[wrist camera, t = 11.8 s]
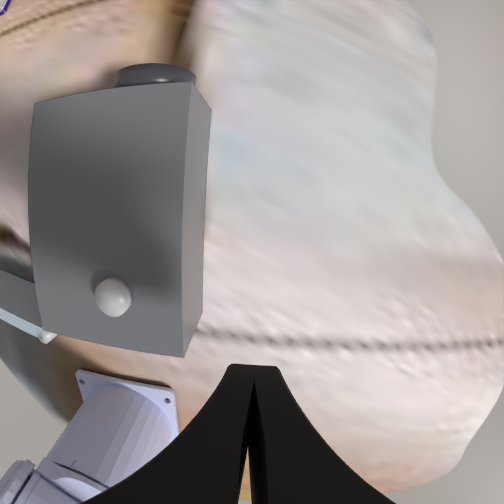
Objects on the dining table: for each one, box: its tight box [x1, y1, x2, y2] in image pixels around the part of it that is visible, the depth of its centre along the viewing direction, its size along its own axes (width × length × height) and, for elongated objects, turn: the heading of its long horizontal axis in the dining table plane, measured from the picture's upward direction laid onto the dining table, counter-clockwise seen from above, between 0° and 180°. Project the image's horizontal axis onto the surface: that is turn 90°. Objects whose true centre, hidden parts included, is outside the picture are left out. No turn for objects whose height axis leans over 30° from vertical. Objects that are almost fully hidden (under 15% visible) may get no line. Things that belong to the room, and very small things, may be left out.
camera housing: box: [28, 63, 211, 358], centre depth 13 cm, size 13×8×6 cm, turn 176°
